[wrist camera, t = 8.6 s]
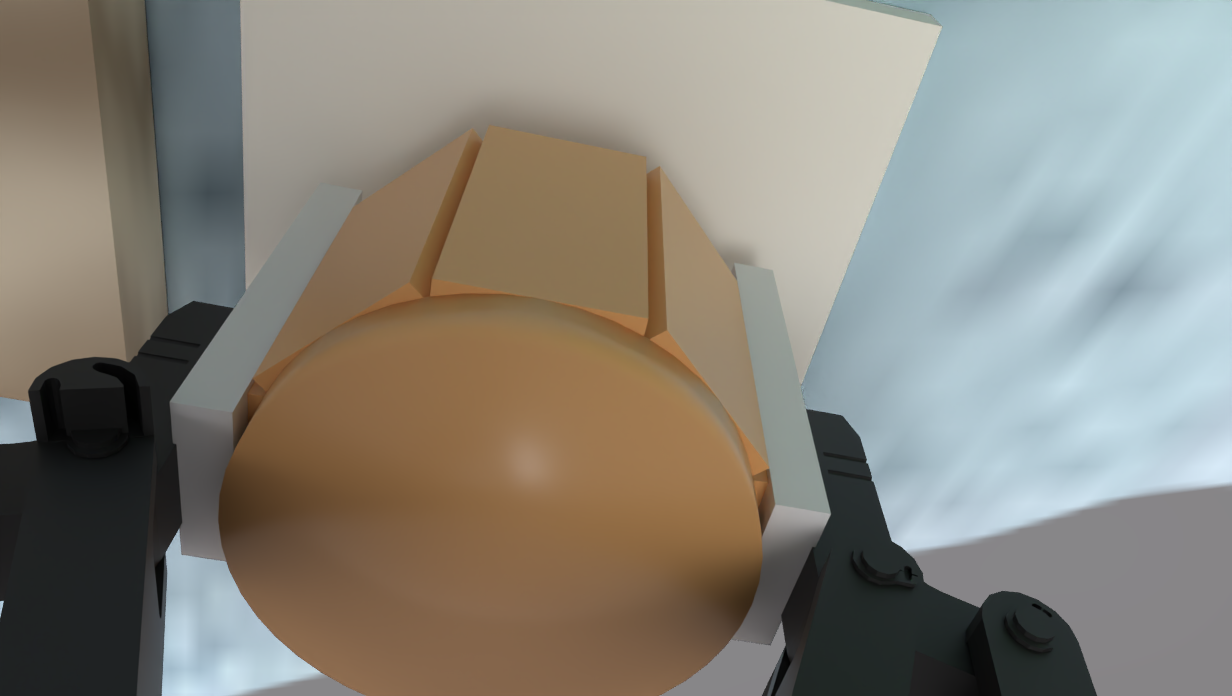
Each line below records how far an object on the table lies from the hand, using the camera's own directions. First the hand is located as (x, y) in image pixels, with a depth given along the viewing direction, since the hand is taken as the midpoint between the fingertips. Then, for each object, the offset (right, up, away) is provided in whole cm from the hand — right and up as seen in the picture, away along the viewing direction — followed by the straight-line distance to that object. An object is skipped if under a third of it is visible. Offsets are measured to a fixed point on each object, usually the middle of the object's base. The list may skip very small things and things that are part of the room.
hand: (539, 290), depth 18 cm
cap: (0, -1, -1) cm, 1 cm away
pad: (0, +1, +2) cm, 2 cm away
